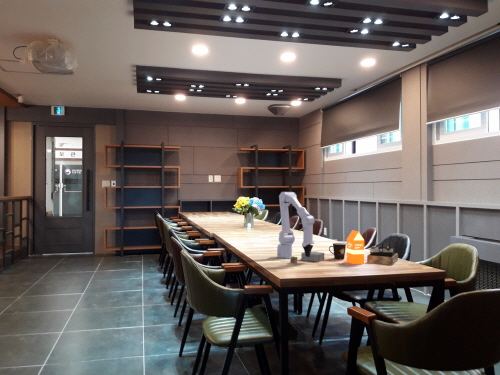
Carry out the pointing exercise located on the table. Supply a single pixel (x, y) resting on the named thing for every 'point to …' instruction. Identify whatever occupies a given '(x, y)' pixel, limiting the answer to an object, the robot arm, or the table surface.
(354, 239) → the orange juice
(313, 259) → the grey drawer
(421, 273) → the table surface
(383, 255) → the camera
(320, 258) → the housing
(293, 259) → the walnut block
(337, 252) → the coffee mug
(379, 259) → the frame
